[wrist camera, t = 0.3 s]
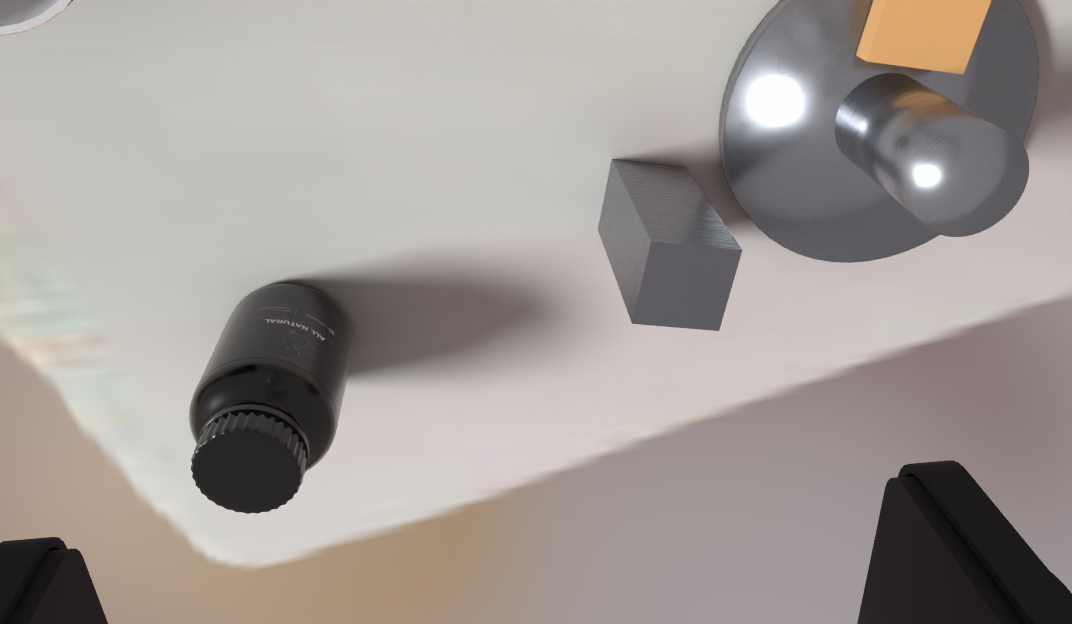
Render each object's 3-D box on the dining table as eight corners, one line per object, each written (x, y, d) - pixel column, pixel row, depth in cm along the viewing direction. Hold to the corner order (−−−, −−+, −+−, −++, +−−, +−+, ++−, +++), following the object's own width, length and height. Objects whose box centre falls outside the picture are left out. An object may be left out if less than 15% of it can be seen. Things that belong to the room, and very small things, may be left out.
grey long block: (612, 159, 45) (651, 241, 36) (686, 167, 46) (742, 250, 37) (598, 229, 47) (632, 323, 38) (669, 236, 48) (718, 331, 39)
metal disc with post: (766, -77, 40) (855, -47, 31) (1077, -28, 42) (1239, 13, 34) (687, 238, 48) (740, 332, 39) (954, 265, 50) (1060, 359, 42)
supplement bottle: (332, 266, 47) (300, 395, 36) (369, 369, 50) (349, 515, 40) (207, 293, 47) (140, 430, 36) (252, 394, 50) (203, 546, 40)
